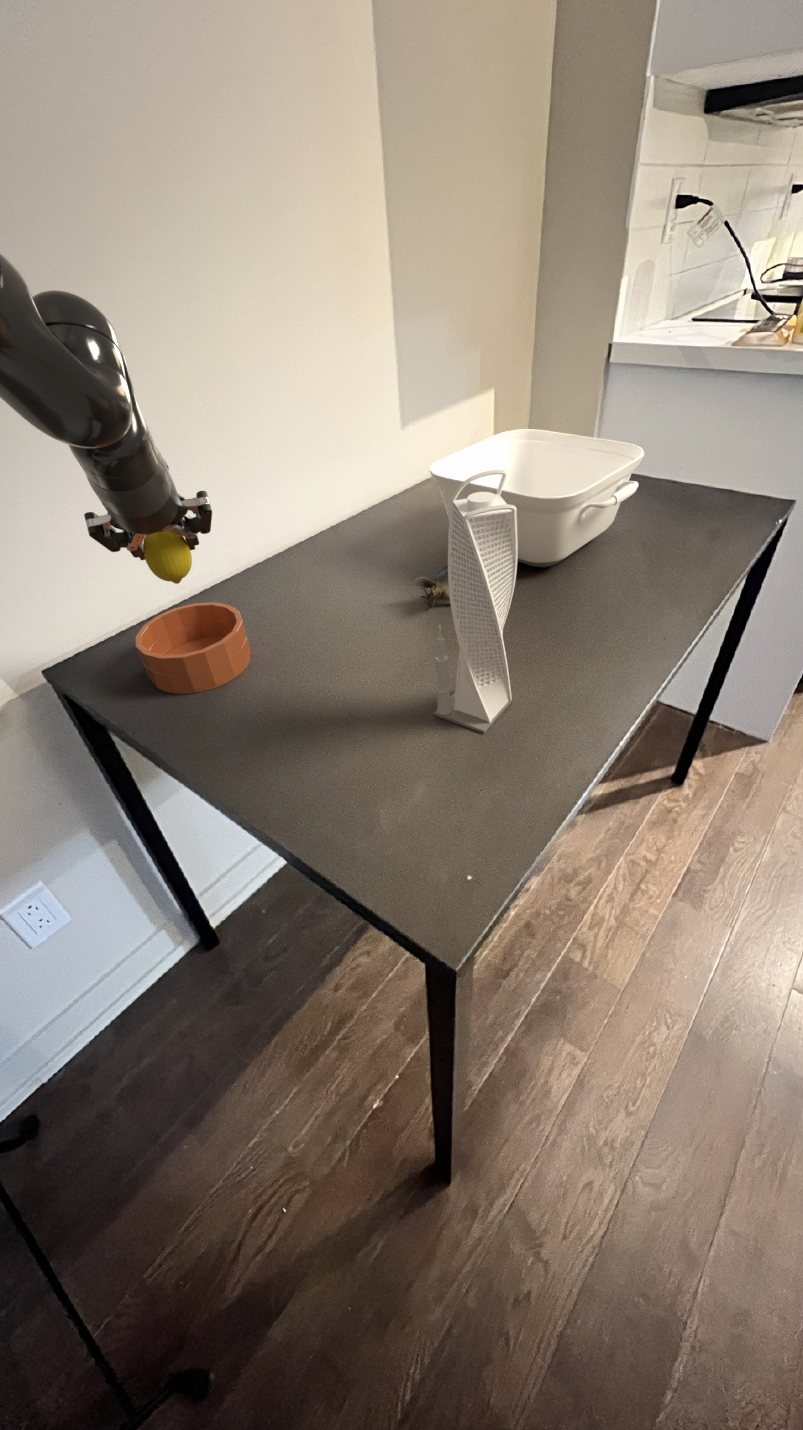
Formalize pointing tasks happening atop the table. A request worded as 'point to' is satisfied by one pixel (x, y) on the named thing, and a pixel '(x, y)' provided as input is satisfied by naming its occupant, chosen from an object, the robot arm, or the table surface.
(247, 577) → the table surface
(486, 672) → the white tall perforated tower
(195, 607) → the bowl
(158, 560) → the lemon
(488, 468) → the white tub with handles
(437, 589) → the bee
